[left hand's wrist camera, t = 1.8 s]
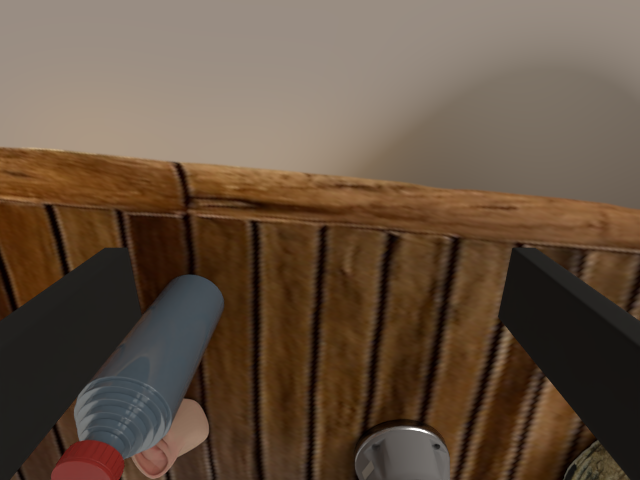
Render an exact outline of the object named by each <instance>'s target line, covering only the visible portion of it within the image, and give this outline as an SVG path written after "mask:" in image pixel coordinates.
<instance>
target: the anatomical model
mask: <svg viewBox="0 0 640 480" xmlns="http://www.w3.org/2000/svg"><path fill="white" fill-rule="evenodd" d="M208 433H209V425H208V421H207V418H206V415H205V413H204V411H203V409H202V408H201V406H200V405H199V404H198V403H197V402H196V401H194V400H191V399H183V401H182V403H181V406H180V408H179V410H178V412H177V414H176V417H175V419H174V421H173V423H172V426H171V428H170V430H169V431H168V433H167V434H166V435H165V436H164V437H163V438H162V439H161V440H160V441H159V442H158V443H157V444H156V445H155V446H153V447H152V448H150V449H148V450H145V451H142V452H140V453H138V454H135V455H133V456H131V457H132V460H133V462H134V463H135V465H136V466H137V468H138V469H139V470H140V471H141V472H142V473H143V474H144V475H145V476H147V477H149V478H152V479H155V478H159V477H161V476H162V475H163V474H165V473H166V472H167V471H168V470H169V468H170V467H171V466H172V465H173V463H174V462H175V460H176V458H177V457H179V456H181V455H183V454H184V453H186V452H188V451H190V450H191V449H193V448H195V447H196V446H198V445H199V444H200V443H202V442H203V441H204V440H205V439H206V438H207V436H208Z"/></svg>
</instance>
